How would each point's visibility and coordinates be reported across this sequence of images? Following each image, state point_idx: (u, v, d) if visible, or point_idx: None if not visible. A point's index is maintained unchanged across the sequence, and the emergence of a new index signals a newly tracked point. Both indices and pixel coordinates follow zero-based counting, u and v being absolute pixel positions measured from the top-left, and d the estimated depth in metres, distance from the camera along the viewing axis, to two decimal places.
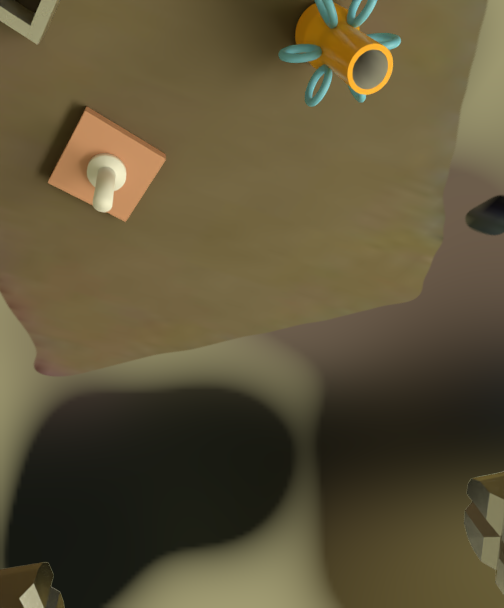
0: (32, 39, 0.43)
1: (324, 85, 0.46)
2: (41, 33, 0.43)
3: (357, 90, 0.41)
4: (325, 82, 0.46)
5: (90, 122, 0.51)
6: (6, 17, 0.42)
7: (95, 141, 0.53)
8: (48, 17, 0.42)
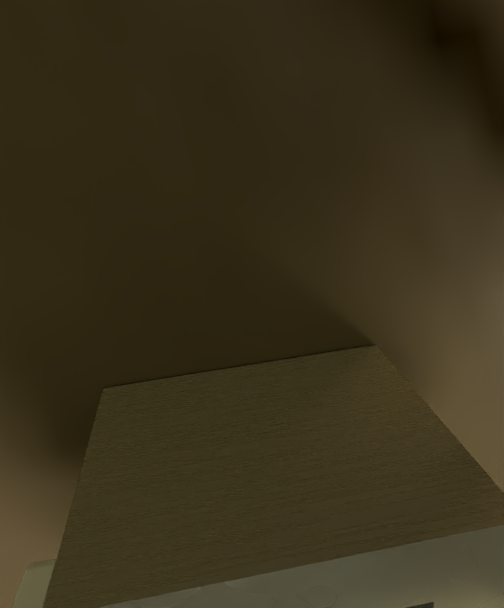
0: None
1: None
2: None
3: None
4: None
5: None
6: None
7: None
8: None
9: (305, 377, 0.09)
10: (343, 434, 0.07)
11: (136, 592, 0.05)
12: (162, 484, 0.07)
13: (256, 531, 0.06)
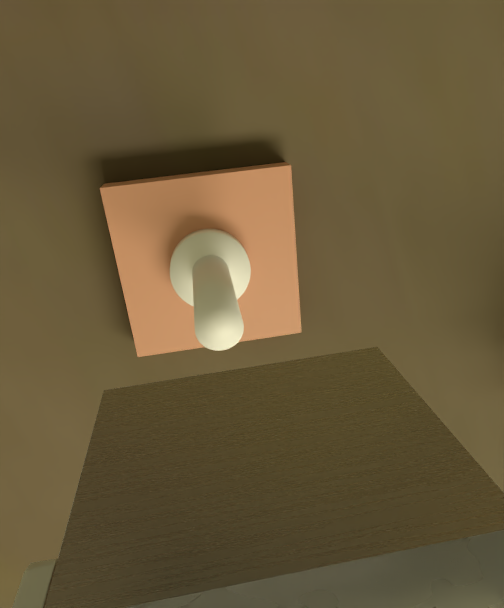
0: None
1: None
2: None
3: None
4: None
5: (276, 186, 0.25)
6: None
7: (248, 214, 0.25)
8: None
9: (306, 379, 0.09)
10: (345, 437, 0.07)
11: (137, 597, 0.05)
12: (163, 487, 0.07)
13: (257, 536, 0.06)
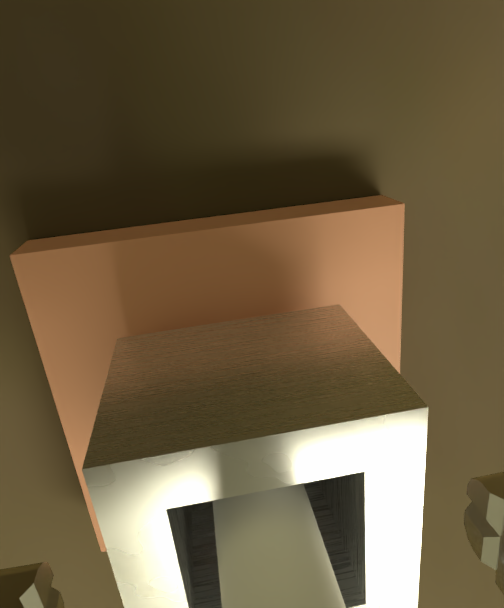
0: None
1: None
2: None
3: None
4: None
5: (373, 244, 0.13)
6: (146, 580, 0.08)
7: (316, 300, 0.13)
8: None
9: (279, 327, 0.11)
10: (304, 362, 0.09)
11: (148, 453, 0.07)
12: (165, 395, 0.09)
13: (234, 419, 0.08)
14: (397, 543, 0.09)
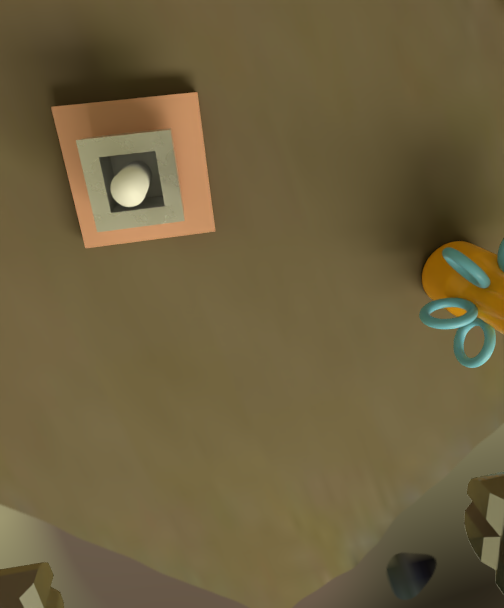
0: (97, 223, 0.30)
1: (468, 318, 0.35)
2: (113, 228, 0.30)
3: None
4: (470, 316, 0.35)
5: (187, 108, 0.33)
6: (94, 183, 0.29)
7: None
8: (138, 225, 0.30)
9: None
10: (146, 131, 0.30)
11: (93, 138, 0.28)
12: (101, 136, 0.29)
13: (118, 135, 0.28)
14: (170, 181, 0.29)
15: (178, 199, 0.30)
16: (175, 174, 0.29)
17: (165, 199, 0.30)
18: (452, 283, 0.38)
